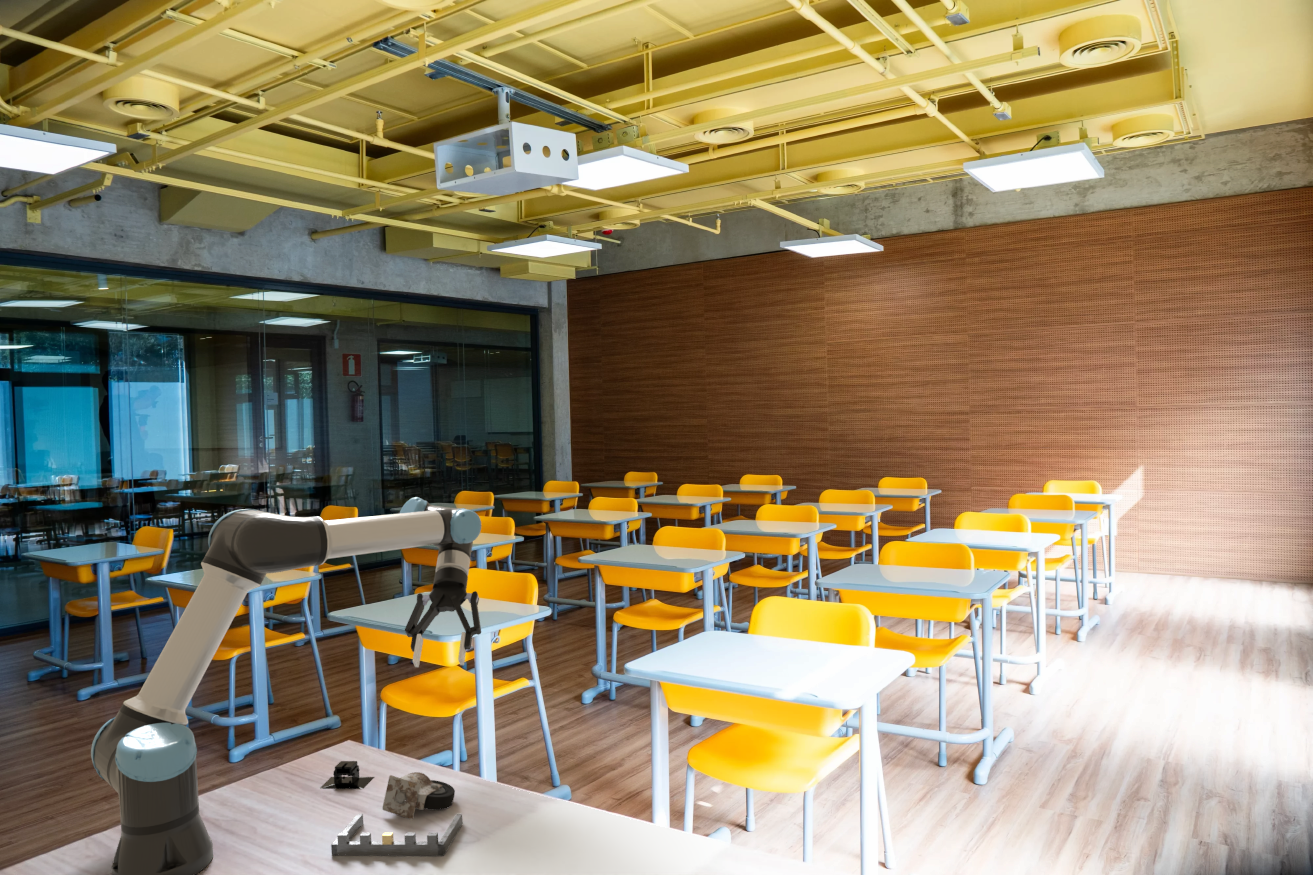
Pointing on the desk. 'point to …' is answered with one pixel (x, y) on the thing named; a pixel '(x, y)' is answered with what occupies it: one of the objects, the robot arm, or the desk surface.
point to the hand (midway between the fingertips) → (438, 663)
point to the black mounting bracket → (347, 782)
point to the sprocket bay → (392, 842)
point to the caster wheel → (416, 794)
